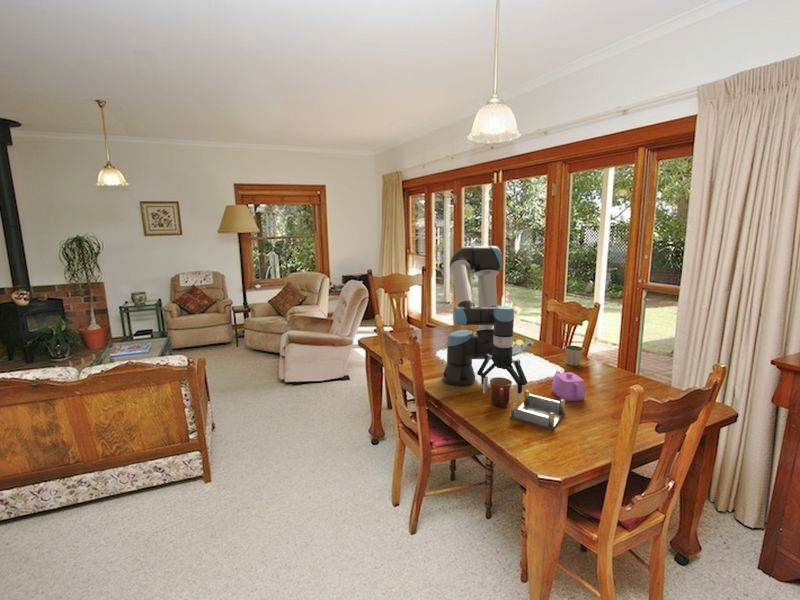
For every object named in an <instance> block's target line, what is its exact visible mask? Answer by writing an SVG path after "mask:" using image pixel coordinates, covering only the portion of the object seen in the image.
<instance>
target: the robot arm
mask: <svg viewBox="0 0 800 600" xmlns="http://www.w3.org/2000/svg"><path fill="white" fill-rule="evenodd" d="M502 255H503V254H502V251H501V249H500V248H499V247H498V246H497V245H465V246H462V247H460V248H458V249H457V250H456V251H455V252H454V253H453V255H452V256H451V258H450V261H449V270H450V273H451V274H452V276H453V277H452V279H453V286H454V287H453V288H454V293H455V301H456V306H454V307H453V309H452V320H453V324H454V325H457V326H478V328H477V329H475V330H476V331H475V332H476V333H473V331H472V330H470V329H469V330H468V329H461V330H460V329H459V330H455V331H452V332H450V333H449V334H448V335H447V342H446V366H445V367H444V371H443V374H442V381H443V382H444V383H446V384H449V385H451V386H456V387H457V386H459V387H466V386H470V385H472V384H474V383H475V382H476V375H477V376H480V379H481V380H480V381H481V382H480V384H481V385H483V386H482V394H486V393H487V392H488V385H489V381H488V380H489V376H487V375H489V374H490V372H491V371H492V370H493V369H494V368H497V369H502V370H506V371H507V372H508V373H509V375H510V376H511V377H512V379H513V380H514V382H515V383H516V384H515V388H514V389H515V391H514V392H515V393H514V394H515V395H514V402H516V403H517V402H518V401H520V395H521V394H522V392H523V386H526V385H527V384H528V380H527V377H526V375H525V373H524V370H523V368H522V366H521V360H520V359H513V344H514V343H513V342H514V321H515V311H514V310H515V309H514V308H513V307H512V306H509V305H498V293H497V291H498V289H497V276H498V275H499V274H500V271H501V270H502V269H503V260H504V259H503V256H502ZM471 271H474V272H473V274H474V275H475V276H476V277H477V290H478V292H477V293H478V298H477V299H478V306H476V305H475V298H474V297H475V296H474V293H473V286H472V281H471V274H470V272H471ZM473 360H484V361H483V362H482V364H481V365H480V367H479V369H478V370H477V372H476V374H475V371H474V367H473ZM490 360H491V361H492V362H493V363H492V364H491V365H490V366H489V367H488V368H486V367H487V366H488V363H489V361H490ZM512 364H513V365H512ZM514 367H515V369H514ZM485 369H486V370H485ZM484 370H485V371H484Z"/></svg>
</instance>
